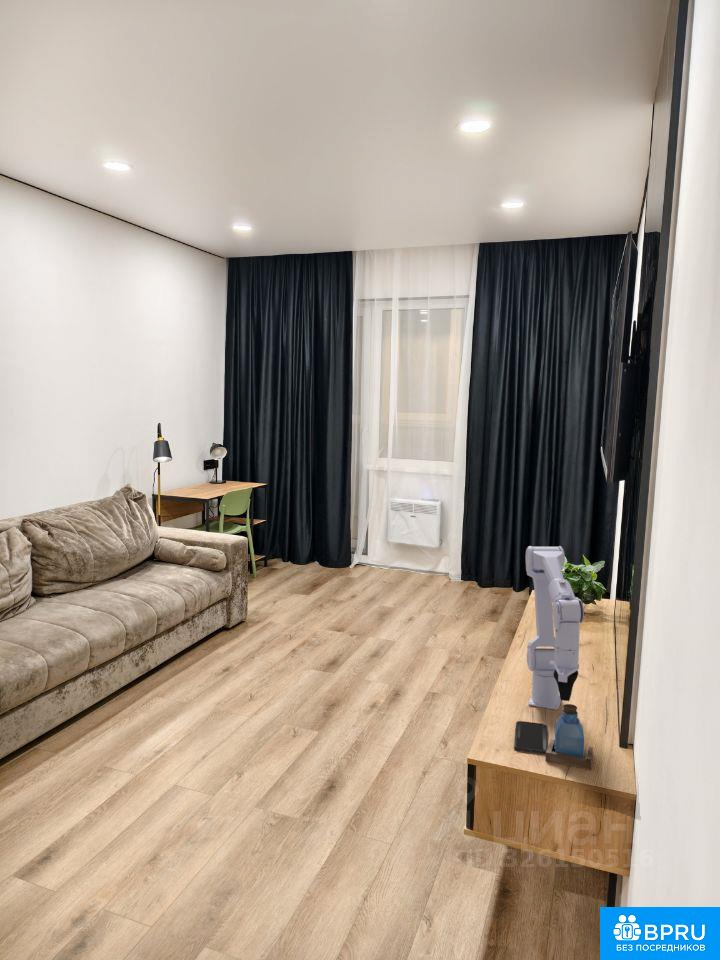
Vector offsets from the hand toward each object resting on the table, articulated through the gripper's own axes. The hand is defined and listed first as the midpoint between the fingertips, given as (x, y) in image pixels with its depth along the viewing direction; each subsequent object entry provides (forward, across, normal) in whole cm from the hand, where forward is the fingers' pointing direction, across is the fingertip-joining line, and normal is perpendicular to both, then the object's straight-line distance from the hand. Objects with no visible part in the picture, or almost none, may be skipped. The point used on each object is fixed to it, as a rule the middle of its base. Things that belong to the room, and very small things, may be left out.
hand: (565, 699), depth 163 cm
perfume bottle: (+9, +10, +2) cm, 14 cm away
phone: (+10, +5, -7) cm, 13 cm away
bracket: (+9, +11, +3) cm, 14 cm away
